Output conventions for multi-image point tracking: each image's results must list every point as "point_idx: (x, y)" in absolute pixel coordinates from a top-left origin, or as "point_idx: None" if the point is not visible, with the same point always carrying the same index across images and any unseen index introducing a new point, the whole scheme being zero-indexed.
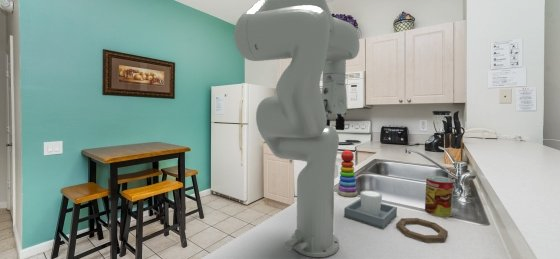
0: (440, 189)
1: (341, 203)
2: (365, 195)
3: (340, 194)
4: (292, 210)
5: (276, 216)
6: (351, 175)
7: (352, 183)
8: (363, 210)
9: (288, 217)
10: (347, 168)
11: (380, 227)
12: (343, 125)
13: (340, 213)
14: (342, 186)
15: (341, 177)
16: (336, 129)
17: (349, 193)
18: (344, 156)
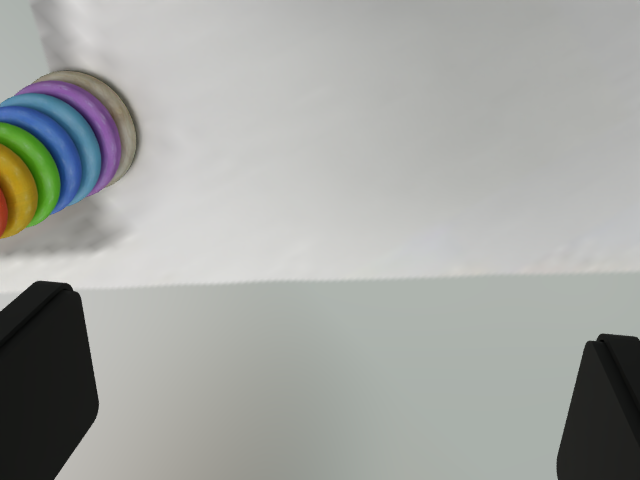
0: None
1: (245, 88)
2: None
3: (134, 153)
4: (513, 247)
5: (629, 267)
6: (22, 130)
7: (54, 106)
8: None
9: (607, 216)
10: (9, 175)
11: None
12: (15, 332)
13: (386, 22)
14: (102, 160)
15: (69, 191)
16: (97, 399)
17: (111, 101)
18: None
